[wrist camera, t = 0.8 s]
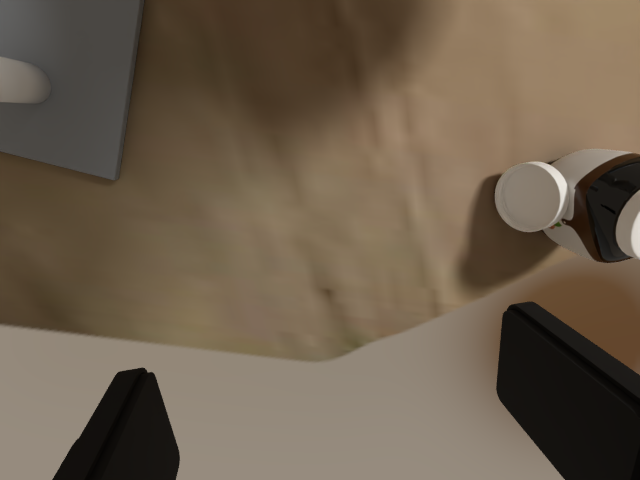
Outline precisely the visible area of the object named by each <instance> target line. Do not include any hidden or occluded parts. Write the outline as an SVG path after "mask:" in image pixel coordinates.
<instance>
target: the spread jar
mask: <svg viewBox="0 0 640 480" xmlns="http://www.w3.org/2000/svg"><path fill="white" fill-rule="evenodd" d="M495 204H496V208H497V210H498V213H499V215H500V216H501V218H502V219H503V220H504V221H505V222H506V223H507V224H508V225H509V226H511V227H512V228H514V229H516V230H519V231H523V232H535V231H539V230H542V231H543V232H544V233H545V234H546V235H547V236H548V237H549V238H550V239H551V240H553V241H554V242H556V243H557V244H559V245H560V246H562V247H564V248H566V249H568V250H570V251H572V252H575V253H577V254H579V255H581V256H584V257H586V258H589V259H591V260H594V261H598V262H603V263H615V262H621V261H624V260H628V259H631V258H636V259H639V260H640V155H639V154H636V153H631V152H626V151H617V150H607V149H585V150H580V151H576V152H573V153H570V154H568V155H566V156H564V157H562V158H559V159H558V160H556V161H554V162H553V163H551V164H550V165H549V164H546V163H543V162H527V163H521V164H517V165H514V166H512V167H511V168H509V169H508V170H506V171H505V172H504V173H503V174H502V176H501V177H500V179H499V181H498V183H497V185H496V189H495Z"/></svg>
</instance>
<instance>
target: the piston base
mask: <svg viewBox="0 0 640 480" xmlns="http://www.w3.org/2000/svg"><path fill="white" fill-rule="evenodd" d="M144 1H145V0H0V152H4V153H8V154H12V155H16V156H20V157H24V158H28V159H32V160H36V161H40V162H44V163H48V164H52V165H56V166H60V167H63V168H67V169H71V170H75V171H79V172H83V173H87V174H91V175H95V176H99V177H103V178H107V179H111V180H117V179H119V173H120V166H121V160H122V153H123V146H124V139H125V132H126V125H127V118H128V111H129V104H130V97H131V90H132V84H133V77H134V70H135V63H136V56H137V49H138V42H139V35H140V28H141V21H142V14H143V7H144Z"/></svg>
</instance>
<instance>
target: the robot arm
mask: <svg viewBox="0 0 640 480" xmlns="http://www.w3.org/2000/svg"><path fill="white" fill-rule="evenodd" d="M496 389H497V394H498V397H499V399H500V401H501V402H502V403H503V405H504V406H505V407H506V409H507V410H508V411H509V412H510V413H511V415H512V416H513V417H514V418H515V420H516V421H517V422H518V423H519V424H520V426H521V427H522V428H523V429H524V431H525V432H526V433H527V434H528V435H529V436H530V438H531V439H532V440H533V441H534V443H535V444H536V445H537V446H538V447H539V449H540V450H541V451H542V452H543V454H544V455H545V456H546V457H547V458H548V460H549V461H550V462H551V463H552V465H553V466H554V467H555V468H556V469H557V471H558V472H559V473H560V474H561V475H562V477H563V478H564V479H565V480H640V375H639V374H637V373H636V372H634V371H633V370H631V369H630V368H629V367H627V366H626V365H624V364H623V363H621V362H620V361H618V360H617V359H615V358H614V357H612V356H611V355H610V354H608V353H607V352H605V351H604V350H603V349H601V348H600V347H598V346H597V345H595V344H594V343H593V342H591V341H590V340H588V339H587V338H585V337H584V336H582V335H581V334H579V333H578V332H577V331H575V330H574V329H572V328H571V327H569V326H568V325H566V324H565V323H563V322H562V321H561V320H559V319H558V318H556V317H555V316H554V315H552V314H551V313H549V312H548V311H546V310H545V309H543V308H542V307H540V306H539V305H538V304H536V303H534V302H525V303H518V304H513V305H510V306H509V307H508V309H507V311H505V312H504V313H503V318H502V329H501V341H500V352H499V363H498V375H497V388H496ZM179 461H180V456H179V450H178V446H177V443H176V440H175V437H174V434H173V431H172V428H171V424H170V421H169V418H168V415H167V412H166V409H165V405H164V402H163V399H162V396H161V393H160V390H159V387H158V383H157V380H156V377H155V375H154V373H152V372H150V373H148V372H147V370H146V369H145V368H138V369H132V370H126V371H121V372H118V373H117V374H116V375H115V377H114V379H113V381H112V382H111V384H110V386H109V387H108V389H107V391H106V393H105V394H104V396H103V398H102V400H101V401H100V403H99V405H98V406H97V408H96V410H95V412H94V413H93V415H92V417H91V419H90V420H89V422H88V424H87V425H86V427H85V429H84V430H83V432H82V434H81V436H80V437H79V439H77V440H76V442H75V443H74V444H73V446H72V447H71V449H70V451H69V452H68V454H67V456H66V458H65V459H64V461H63V462H62V464H61V466H60V468H59V470H58V471H57V473H56V474H55V476H54V478H53V479H52V480H176V476H177V472H178V468H179Z"/></svg>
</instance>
